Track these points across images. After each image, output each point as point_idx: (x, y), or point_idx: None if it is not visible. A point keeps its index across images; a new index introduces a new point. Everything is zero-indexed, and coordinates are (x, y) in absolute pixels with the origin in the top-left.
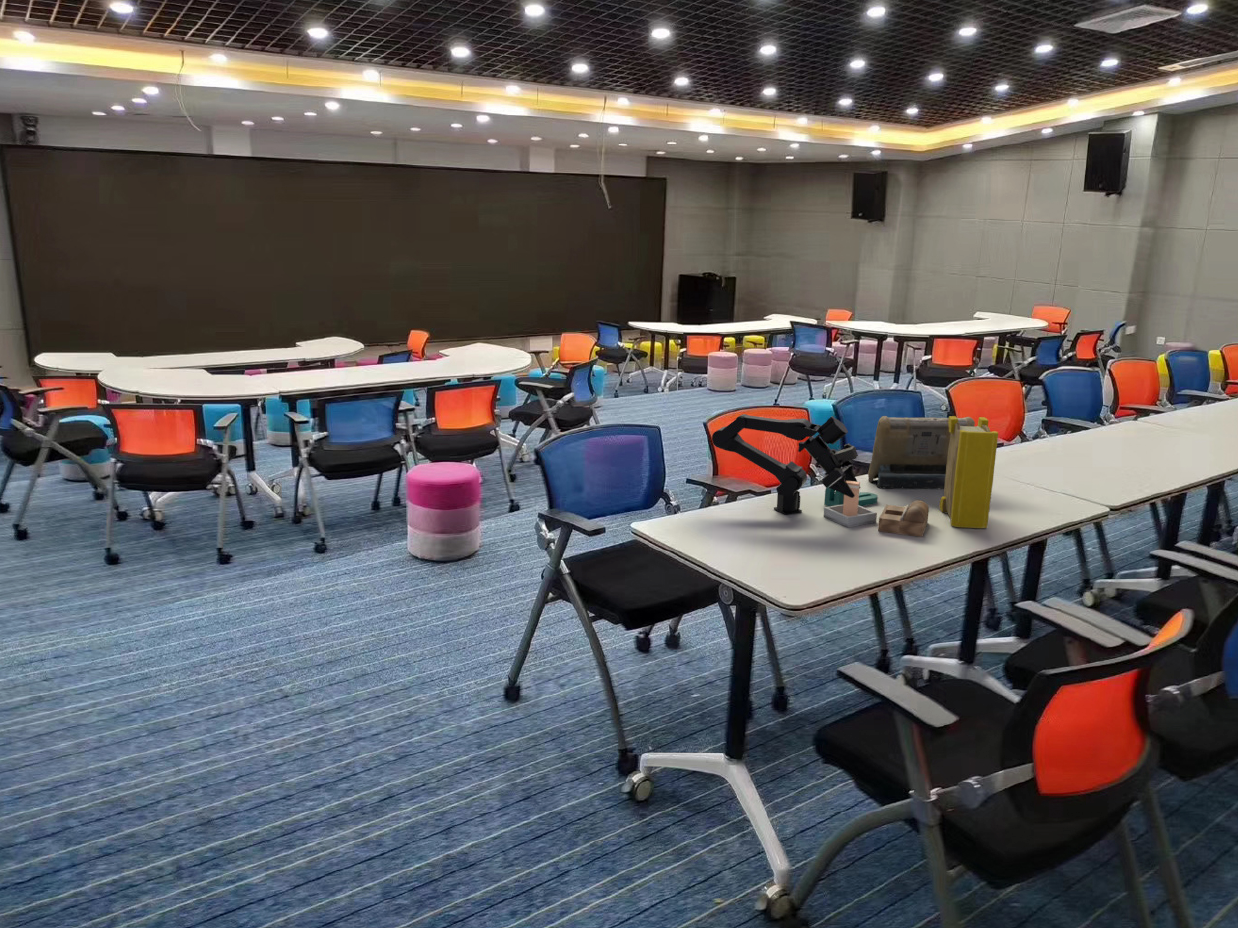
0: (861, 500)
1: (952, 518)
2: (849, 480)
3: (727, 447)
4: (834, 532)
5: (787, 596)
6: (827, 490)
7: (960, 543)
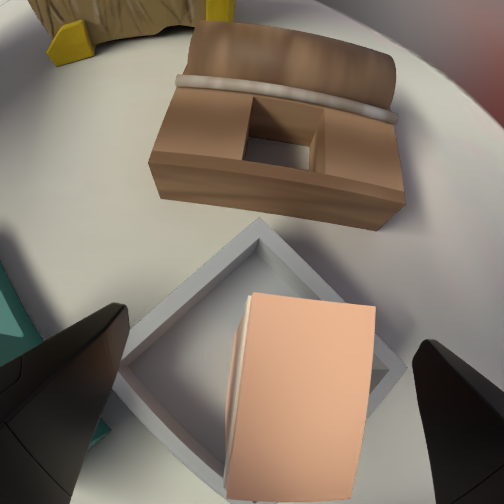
0: (8, 304)
1: (228, 15)
2: (72, 434)
3: None
4: None
5: None
6: None
7: (359, 45)
